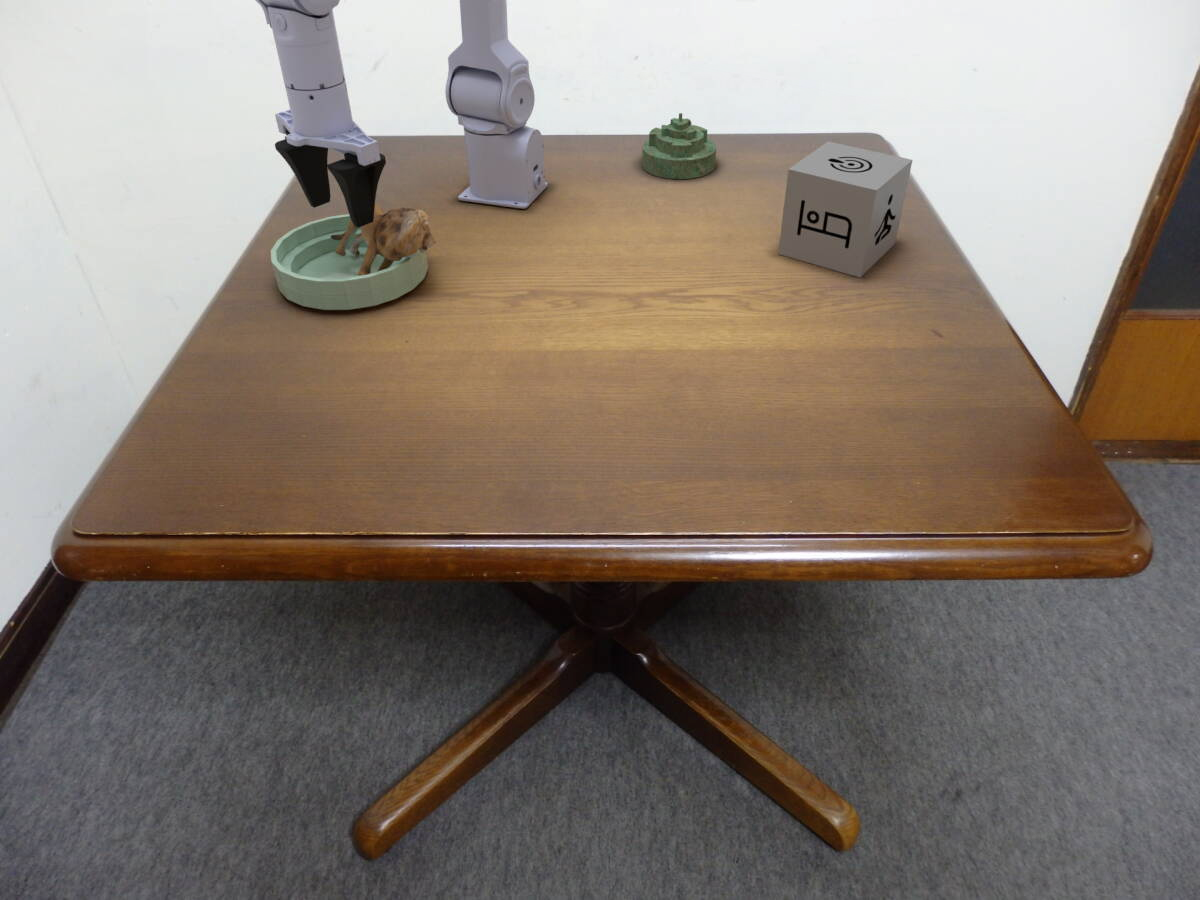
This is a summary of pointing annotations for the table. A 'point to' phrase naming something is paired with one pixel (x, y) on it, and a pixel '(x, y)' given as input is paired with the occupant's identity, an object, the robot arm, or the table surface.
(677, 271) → the table surface
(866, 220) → the icon cube
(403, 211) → the lion figurine
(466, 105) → the robot arm
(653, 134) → the decorative artifact
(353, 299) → the bowl
